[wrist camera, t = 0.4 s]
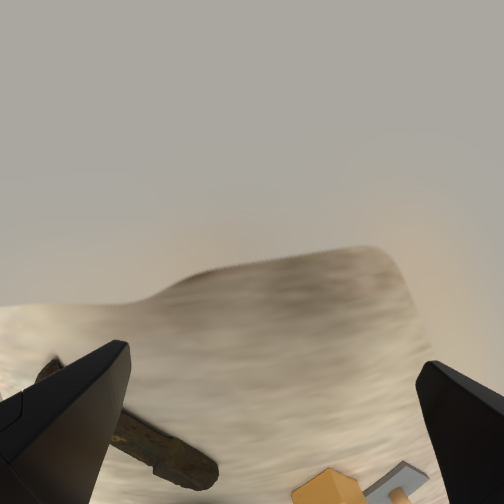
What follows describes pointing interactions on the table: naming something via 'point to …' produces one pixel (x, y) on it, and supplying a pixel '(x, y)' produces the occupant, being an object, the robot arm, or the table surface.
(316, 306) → the table surface
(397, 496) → the grey base with peg
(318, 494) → the orange foam cube
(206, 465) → the hand tool
